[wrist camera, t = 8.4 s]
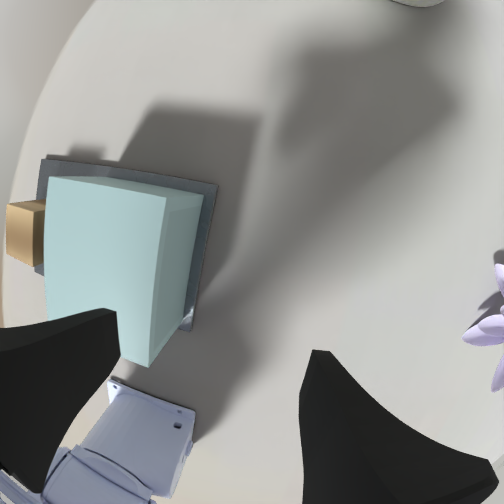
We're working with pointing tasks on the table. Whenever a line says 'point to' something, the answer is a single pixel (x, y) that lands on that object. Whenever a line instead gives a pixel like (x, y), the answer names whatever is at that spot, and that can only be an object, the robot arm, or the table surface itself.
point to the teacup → (420, 2)
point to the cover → (120, 256)
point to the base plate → (172, 182)
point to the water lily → (491, 332)
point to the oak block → (26, 231)
